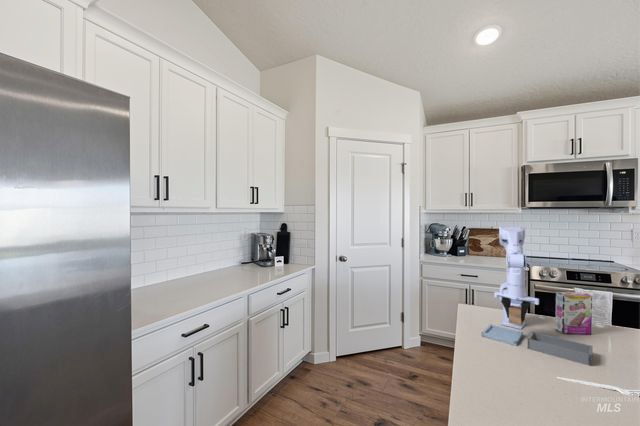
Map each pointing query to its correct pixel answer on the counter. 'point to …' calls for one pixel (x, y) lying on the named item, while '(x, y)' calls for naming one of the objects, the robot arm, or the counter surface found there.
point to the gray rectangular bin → (561, 348)
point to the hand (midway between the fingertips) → (515, 318)
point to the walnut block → (515, 315)
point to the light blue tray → (502, 334)
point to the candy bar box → (573, 313)
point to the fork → (603, 386)
